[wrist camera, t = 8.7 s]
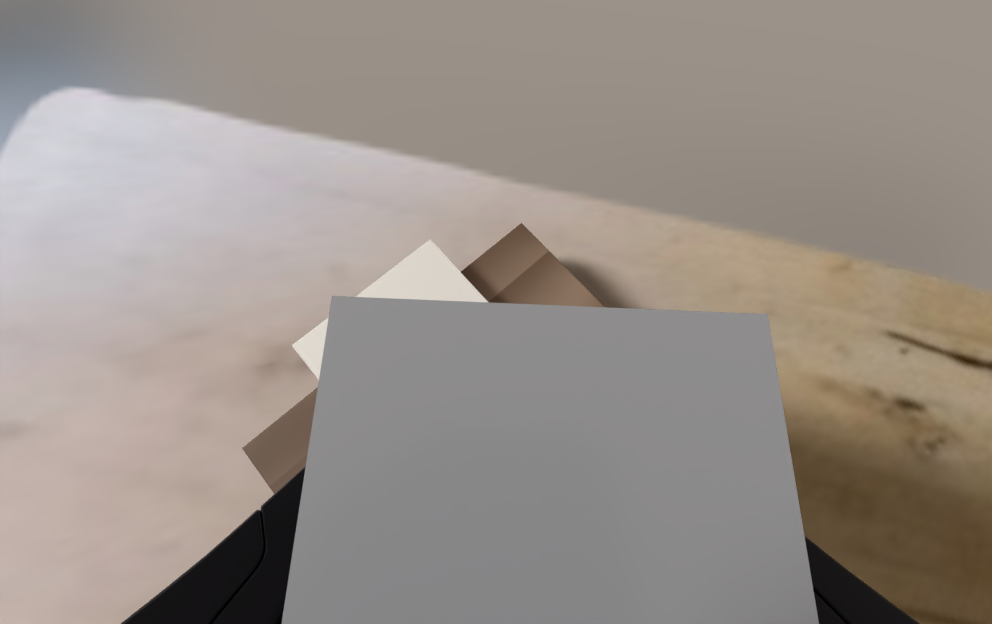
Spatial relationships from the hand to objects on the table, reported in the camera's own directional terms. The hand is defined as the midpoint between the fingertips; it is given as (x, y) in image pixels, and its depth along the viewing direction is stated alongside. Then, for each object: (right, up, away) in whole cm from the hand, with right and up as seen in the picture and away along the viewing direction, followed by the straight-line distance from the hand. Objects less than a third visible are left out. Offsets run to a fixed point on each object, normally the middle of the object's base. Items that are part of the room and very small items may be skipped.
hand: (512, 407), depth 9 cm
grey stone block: (0, -3, +6) cm, 7 cm away
